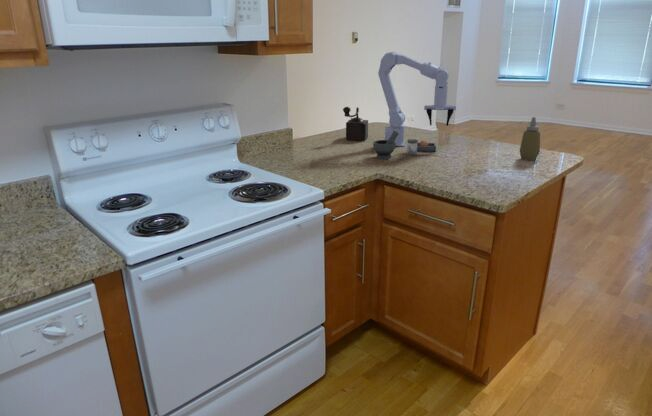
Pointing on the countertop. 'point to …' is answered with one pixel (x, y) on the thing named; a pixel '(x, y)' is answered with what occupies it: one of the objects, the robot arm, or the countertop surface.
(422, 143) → the ball
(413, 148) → the shaker
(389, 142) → the mortar and pestle
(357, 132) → the manual coffee grinder
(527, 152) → the squeeze bottle
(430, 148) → the dish
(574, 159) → the countertop surface
